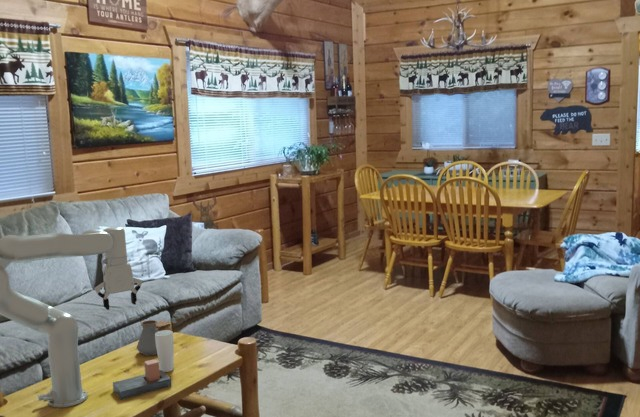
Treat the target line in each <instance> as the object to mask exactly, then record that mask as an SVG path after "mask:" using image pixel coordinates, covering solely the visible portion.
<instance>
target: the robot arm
mask: <svg viewBox="0 0 640 417" xmlns="http://www.w3.org/2000/svg"><path fill="white" fill-rule="evenodd" d="M101 254H104V259H101V264H104V267H103V282H101V283H99V284H98V285H96V286H95V287H94V292H95V293H96V294H97V295H98V296H99V297H100V298H102V303H103V307H104V308H105V309H106V310H107V311H108V310H110V301H109V300H110V299H109V298H108V297H109V296H110V295H111V294H113V295H114V294H118V293H119V294H120V293H123V292H124V293H125V292H129V291H131V293H130V302H131V304H132V305H136V304H137V303H136V302H138V299H137V298H138V297H137V294H138V291H139V290H140V289H141V286H142V284H143V280H141V279H139V278H137V277H134V275H133V270H132V266H131V263H130V262H128V253H127V242H126V232H125V229H124V228H123V227H121V226H112V227H107V228H103V229H99V228H98V229H87V230H85V231H83V232H82V233H80V234H79V233H78V234H77V233H76V234H74V233H73V234H69V233H62V232H61V233H60V232H51V233H50V232H49V233H41V234H34V235H31V234H30V235H23V236H18V235H14V234H7V235H4V236H3V237H1V238H0V316H2V317H5V318H7V319H9V320H11V321H13V322H14V323H16V324H18V325H19V326H23V327H25V328H27V329H31V330H33V331H36V332H38V333H41V334H43V335H44V336H47V337H48V339H49V340H48V347H47V349H48V350H47V352H48V354H47V355H48V362H49V372H50V380H51V382H50V383H51V388H50V389H49V390H50V391H47V393H44V394H43V393H42V394H39V395H37V399H38V402H41V401H43V402H48V405H49V406H51V407H53V408H56V409H57V408H58V409H59V408H60V409H61V408H69V407H73V406H76V405H79V404H81V403H83V402H84V401H85V400H87V398H88V392H87V391H86V390H84V389H83V386H82V385H83V384H82V377H81V376H82V375H81V366H80V364H81V363H80V357H79V356H80V355H79V348H78V347H79V346H78V345H79V342H78V341H79V340H78V337H79V324H78V321H77V319H76V318H75V317H74V316H73V315H72V314H70V313H69V312H66V311H63V310H61V309H58V308H56V307H54V306H52V305H49V304H46V303H44V302H42V301H40V300H39V299H37V298H34V297H31V296H29V295H25V294H22V293H20V292H18V291H16V290H14V289H12V288H11V287H12V286H11V284H10V276H9V272H8V270H6V268H7V267H8V266H9V265H10V264H11V263H20V264H21V263H27V262H35V261H42V260H43V261H44V260H50V259H60V258H61V259H62V258H63V259H64V258H71V257H73V258H74V257H75V258H76V257H86V256H87V257H88V256H94V255H101ZM135 283H136V285H135ZM102 288H103V290H104V291H103V293H102V292H101V289H102Z"/></svg>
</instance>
